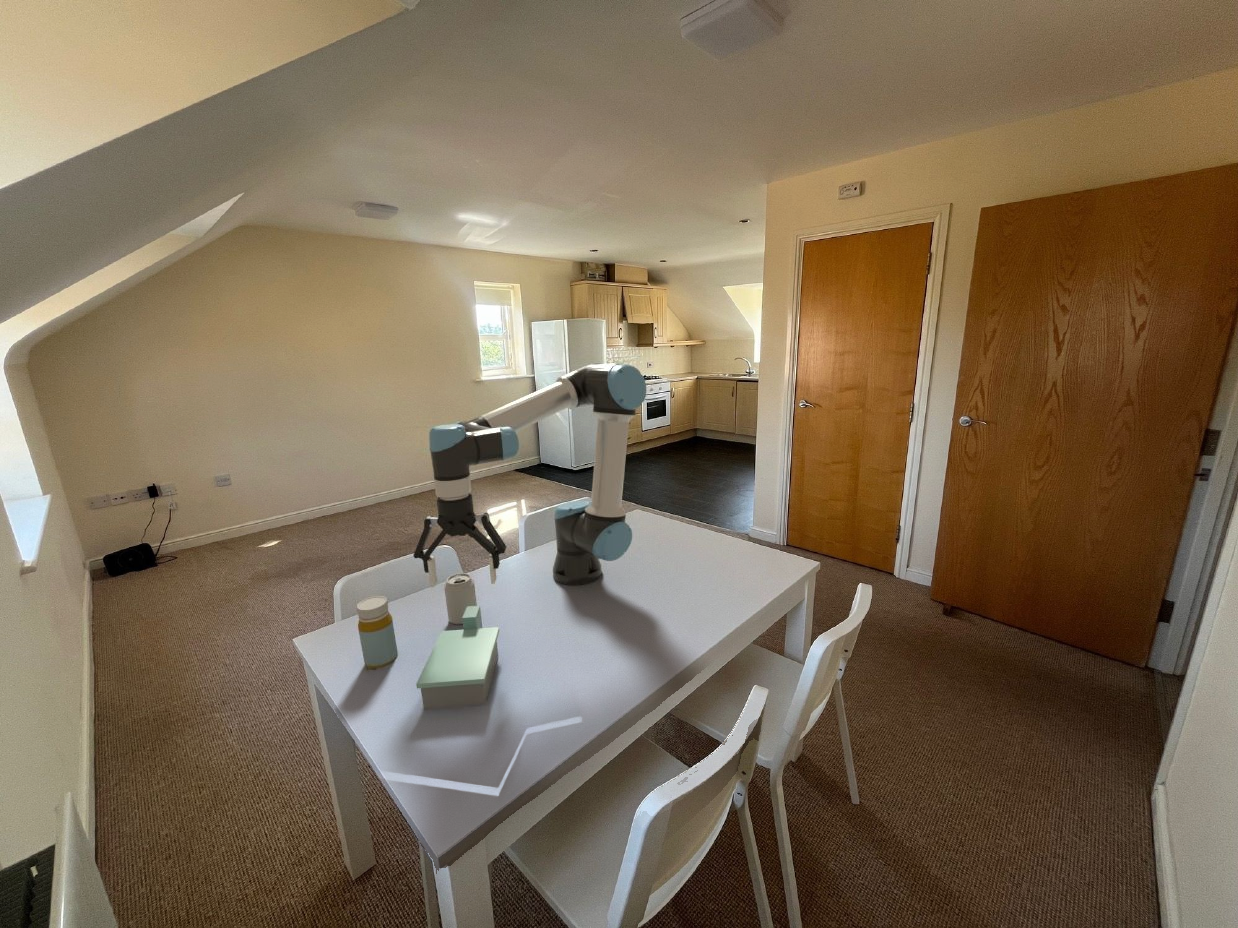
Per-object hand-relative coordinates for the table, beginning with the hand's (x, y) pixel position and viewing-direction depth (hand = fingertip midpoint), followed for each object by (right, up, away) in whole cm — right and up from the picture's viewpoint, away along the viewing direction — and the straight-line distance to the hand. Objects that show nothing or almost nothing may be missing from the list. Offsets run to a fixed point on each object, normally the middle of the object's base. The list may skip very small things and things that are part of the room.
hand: (464, 582), depth 114 cm
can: (-5, -14, +17) cm, 22 cm away
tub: (+3, -20, -8) cm, 21 cm away
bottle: (-19, -18, 0) cm, 27 cm away
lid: (+2, -16, -6) cm, 17 cm away
